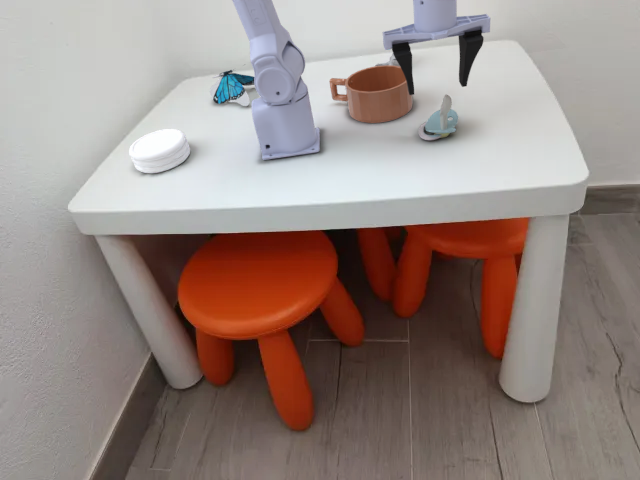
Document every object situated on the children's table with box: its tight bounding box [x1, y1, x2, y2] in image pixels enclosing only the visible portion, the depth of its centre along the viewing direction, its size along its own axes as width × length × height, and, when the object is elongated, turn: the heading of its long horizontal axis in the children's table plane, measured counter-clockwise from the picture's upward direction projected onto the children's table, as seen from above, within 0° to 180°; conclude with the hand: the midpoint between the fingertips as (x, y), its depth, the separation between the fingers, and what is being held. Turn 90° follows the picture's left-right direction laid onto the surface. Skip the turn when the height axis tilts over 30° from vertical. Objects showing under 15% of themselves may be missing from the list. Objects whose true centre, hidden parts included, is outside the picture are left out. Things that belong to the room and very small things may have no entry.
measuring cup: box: [329, 65, 414, 124], centre depth 90 cm, size 15×11×6 cm
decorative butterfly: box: [209, 63, 255, 107], centre depth 104 cm, size 10×6×10 cm
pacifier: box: [417, 94, 459, 141], centre depth 78 cm, size 7×6×6 cm
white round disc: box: [128, 128, 191, 174], centre depth 88 cm, size 10×10×4 cm
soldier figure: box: [375, 52, 400, 66], centre depth 101 cm, size 8×5×12 cm
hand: (436, 88), depth 76 cm, fingers open, 7 cm apart
